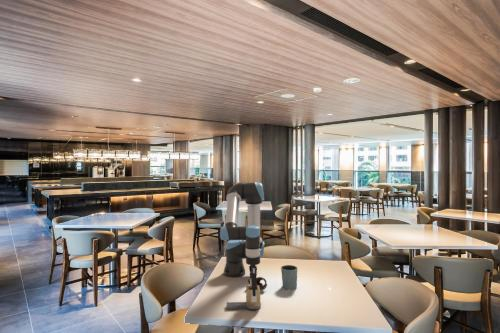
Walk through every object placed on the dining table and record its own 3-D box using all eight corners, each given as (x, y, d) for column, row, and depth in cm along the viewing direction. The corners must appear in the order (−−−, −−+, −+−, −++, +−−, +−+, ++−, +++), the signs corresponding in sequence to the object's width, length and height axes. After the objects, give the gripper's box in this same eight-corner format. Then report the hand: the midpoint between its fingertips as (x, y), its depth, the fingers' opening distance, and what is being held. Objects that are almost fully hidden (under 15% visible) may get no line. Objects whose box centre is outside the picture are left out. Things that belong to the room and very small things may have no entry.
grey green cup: (297, 290, 178) (297, 270, 178) (280, 289, 180) (280, 269, 180) (297, 284, 188) (297, 265, 188) (281, 283, 190) (281, 264, 190)
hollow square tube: (246, 300, 160) (246, 285, 160) (259, 300, 161) (259, 285, 161) (246, 306, 153) (246, 291, 153) (260, 306, 154) (260, 290, 154)
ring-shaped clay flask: (266, 286, 186) (269, 277, 182) (263, 299, 178) (266, 290, 174) (248, 280, 188) (250, 271, 184) (244, 292, 179) (246, 283, 175)
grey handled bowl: (226, 304, 160) (226, 291, 160) (260, 303, 161) (260, 290, 161) (226, 311, 152) (226, 297, 152) (261, 310, 153) (261, 296, 153)
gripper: (262, 263, 145) (262, 306, 145) (258, 249, 170) (258, 286, 170) (246, 263, 145) (247, 307, 145) (245, 249, 170) (245, 286, 170)
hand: (253, 296), depth 157 cm, fingers open, 13 cm apart
